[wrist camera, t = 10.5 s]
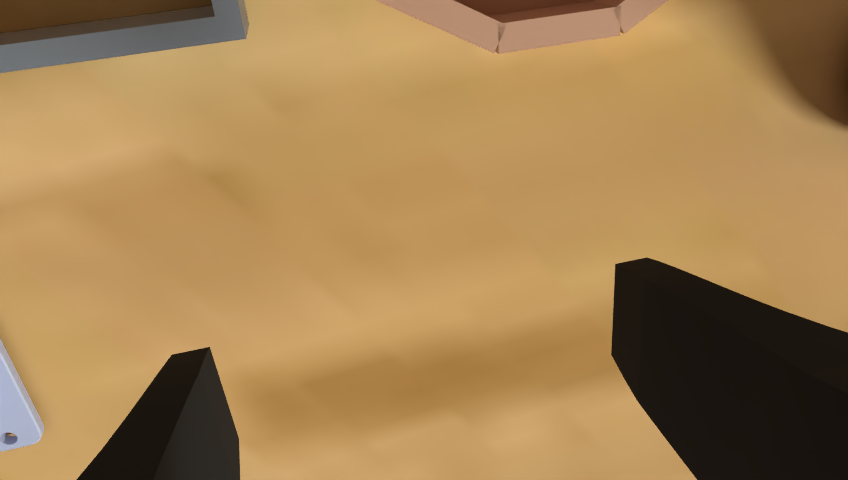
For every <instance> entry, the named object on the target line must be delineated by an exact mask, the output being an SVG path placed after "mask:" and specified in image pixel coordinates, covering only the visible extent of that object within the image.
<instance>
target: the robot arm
mask: <svg viewBox="0 0 848 480" xmlns="http://www.w3.org/2000/svg"><path fill="white" fill-rule="evenodd" d="M611 355H612V357H613V358H614V360H615V362H616V364H617V366H618V368H619V370H620V371H621V373H622V375H623V377H624V379H625V381H626V382H627V384H628V386H629V387H630V389H631V391H632V392H633V394H634V396H635V398H636V399H637V401H638V402H639V404H640V405H641V406H642V408H643V409H644V410H645V412H646V413H647V414H648V416H649V417H650V418H651V420H652V421H653V422H654V424H655V425H656V426H657V428H658V429H659V430H660V432H661V433H662V434H663V436H664V437H665V438H666V440H667V441H668V442H669V443H670V445H671V446H672V447H673V449H674V450H675V451H676V453H677V454H678V455H679V456H680V458H681V459H682V460H683V462H684V463H685V464H686V466H687V467H688V468H689V469H690V471H691V472H692V473H693V475H694V476H695V477H696V479H697V480H848V333H847V332H844V331H841V330H838V329H834V328H831V327H828V326H825V325H822V324H820V323H817V322H814V321H811V320H808V319H805V318H802V317H800V316H797V315H794V314H791V313H788V312H785V311H783V310H780V309H777V308H775V307H772V306H770V305H767V304H764V303H762V302H759V301H757V300H754V299H751V298H749V297H747V296H744V295H742V294H739V293H737V292H734V291H732V290H729V289H727V288H724V287H722V286H719V285H717V284H715V283H712V282H710V281H707V280H705V279H702V278H700V277H698V276H695V275H693V274H690V273H688V272H685V271H683V270H680V269H678V268H675V267H673V266H670V265H667V264H665V263H662V262H659V261H656V260H653V259H650V258H643V259H638V260H633V261H628V262H623V263H618V264H615V286H614V309H613V331H612V354H611ZM43 431H44V425H43V423H42V421H41V419H40V417H39V415H38V413H37V411H36V409H35V407H34V405H33V403H32V401H31V399H30V397H29V395H28V393H27V391H26V389H25V387H24V385H23V383H22V381H21V379H20V377H19V375H18V373H17V371H16V369H15V367H14V365H13V363H12V361H11V359H10V357H9V355H8V353H7V351H6V349H5V347H4V345H3V343H2V341H1V339H0V452H1V451H6V450H10V449H15V448H20V447H24V446H29V445H32V444H35V443H37V442H38V441H39V440H40V439H41V436H42V434H43ZM6 433H13V434H15V435H16V436H9V435H7V434H6ZM77 480H240V460H239V438H238V435H237V431H236V428H235V425H234V422H233V419H232V416H231V413H230V409H229V406H228V403H227V400H226V397H225V394H224V391H223V387H222V384H221V381H220V378H219V375H218V372H217V369H216V365H215V362H214V359H213V356H212V353H211V350H210V347H208V348H203V349H198V350H193V351H188V352H183V353H178V354H173V355H171V357H170V358H169V359H168V361H167V362H166V363H165V365H164V366H163V367H162V369H161V370H160V371H159V373H158V374H157V376H156V377H155V378H154V380H153V381H152V382H151V384H150V385H149V387H148V388H147V389H146V391H145V392H144V394H143V395H142V396H141V398H140V399H139V401H138V402H137V403H136V405H135V406H134V407H133V409H132V410H131V412H130V413H129V414H128V416H127V417H126V418H125V420H124V421H123V422H122V424H121V425H120V426H119V428H118V429H117V430H116V431H115V433H114V434H113V435H112V437H111V438H110V439H109V441H108V442H107V443H106V445H105V446H104V447H103V449H102V450H101V451H100V452H99V453H98V455H97V456H96V457H95V458H94V459H93V461H92V462H91V463H90V464H89V465H88V467H87V468H86V469H85V470H84V471H83V473H82V474H81V475H80V476H79V477H78V479H77Z"/></svg>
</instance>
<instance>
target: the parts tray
mask: <svg viewBox="0 0 848 480" xmlns="http://www.w3.org/2000/svg"><path fill="white" fill-rule="evenodd" d="M211 2H212V6H205V7H197V8H189V9H182V10H174V11H167V12H159V13H151V14H144V15H136V16H129V17H121V18H113V19H106V20H98V21H91V22H83V23H75V24H68V25H60V26H52V27H45V28H37V29H30V30H22V31H14V32H7V33H0V73H4V72H11V71H18V70H25V69H32V68H40V67H47V66H54V65H61V64H68V63H75V62H83V61H90V60H97V59H104V58H111V57H118V56H126V55H133V54H140V53H147V52H154V51H161V50H169V49H176V48H183V47H190V46H197V45H204V44H212V43H219V42H226V41H233V40H240V39H246V36H247V31H248V26H249V22H248V18H247V13H246V8H245V4H244V0H211Z"/></svg>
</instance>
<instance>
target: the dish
mask: <svg viewBox="0 0 848 480" xmlns="http://www.w3.org/2000/svg"><path fill="white" fill-rule="evenodd" d="M376 1H379V2H381V3H383V4H385V5H388V6H390V7H392V8H394V9H396V10H399V11H401V12H403V13H405V14H408V15H410V16H412V17H414V18H417V19H419V20H421V21H423V22H425V23H428V24H430V25H432V26H434V27H437V28H439V29H441V30H443V31H446V32H448V33H450V34H452V35H455V36H457V37H459V38H461V39H463V40H466V41H468V42H470V43H472V44H475V45H477V46H479V47H481V48H484V49H486V50H488V51H490V52H492V53H494V52H497V53H498V54H501V53H508V52H515V51H521V50H528V49H535V48H541V47H548V46H554V45H561V44H568V43H574V42H581V41H588V40H594V39H601V38H607V37H614V36H620V32H621V33H624V34H625V33H626V32H627V31H628V30H630V29H631V28H632V27H634V26H635V25H636V24H638V23H639V22H640V21H641V20H643V19H644V18H645V17H647V16H648V15H649V14H651V13H652V12H653V11H654V10H656V9H657V8H658V7H660V6H661V5H662V4H664V3H665V2H666V1H667V0H376Z"/></svg>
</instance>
